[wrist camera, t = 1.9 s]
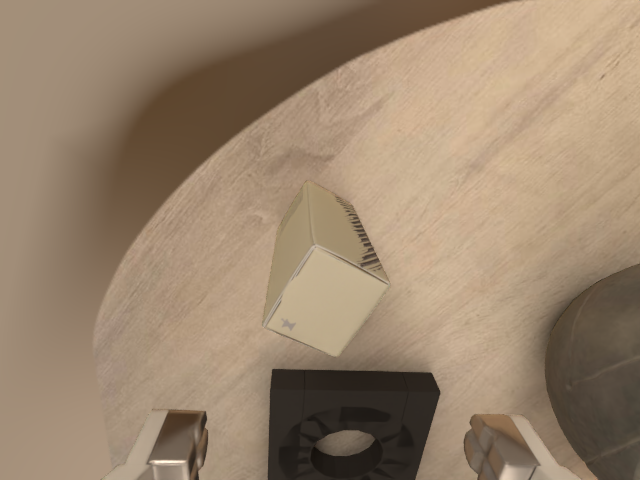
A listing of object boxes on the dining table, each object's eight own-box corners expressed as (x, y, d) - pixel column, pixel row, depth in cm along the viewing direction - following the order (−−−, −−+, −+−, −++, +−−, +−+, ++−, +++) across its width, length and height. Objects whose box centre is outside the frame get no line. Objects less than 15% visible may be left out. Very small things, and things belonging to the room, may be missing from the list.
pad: (268, 486, 41) (267, 509, 39) (272, 368, 34) (270, 389, 32) (401, 485, 42) (407, 508, 40) (431, 372, 35) (440, 392, 33)
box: (321, 253, 29) (335, 366, 17) (274, 230, 28) (256, 332, 16) (355, 201, 28) (396, 286, 16) (307, 173, 26) (312, 243, 15)
